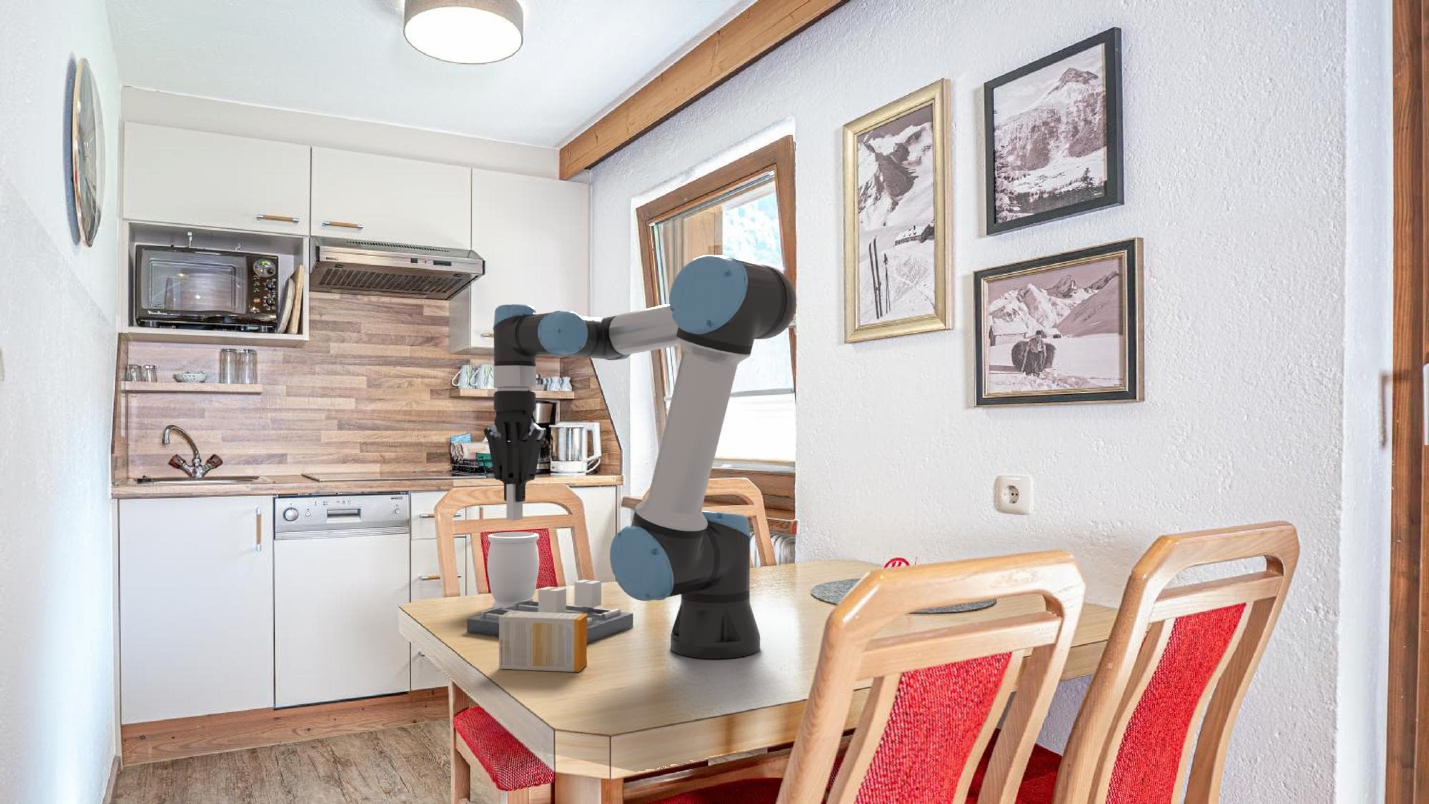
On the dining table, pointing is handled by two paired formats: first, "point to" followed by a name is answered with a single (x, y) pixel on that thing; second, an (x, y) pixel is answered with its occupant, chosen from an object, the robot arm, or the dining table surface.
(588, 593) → the fader
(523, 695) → the dining table surface
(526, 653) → the supplement box
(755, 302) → the robot arm
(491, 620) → the dark grey slotted tray
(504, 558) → the jar
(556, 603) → the fader
